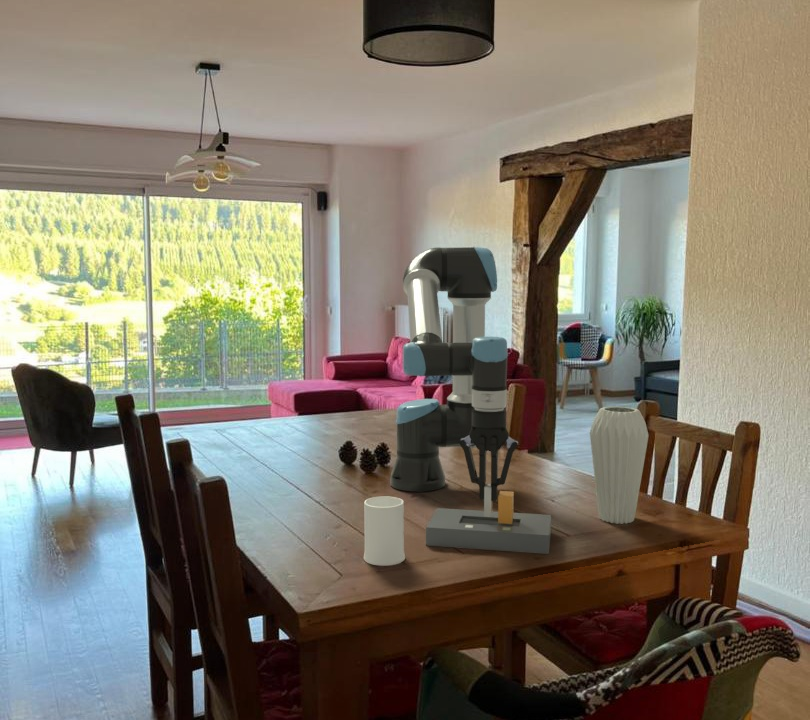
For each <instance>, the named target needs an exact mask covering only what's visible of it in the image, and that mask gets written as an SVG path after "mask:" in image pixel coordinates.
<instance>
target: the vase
mask: <svg viewBox="0 0 810 720" xmlns="http://www.w3.org/2000/svg"><path fill="white" fill-rule="evenodd" d="M649 437H650V436H649V432H648V427H647V424H646V421H645V418H644V416H643V415H642V413H641V411H640V409H637V408H636V407H631V406H630V407H629V406H628V407H627V406H614V405H613V406H603V407H601V408H599V409H598V412H597V413H596V414H595V416H594V418H593V420H592V424H591V429H590V431H589V438H590V447H591V457H592V465H593V467H592V468H593V474H594V475H593V476H594V484H595V493H596V503H597V511H598V518H599V519H600V520H601V521H603V522H605V523H610V524H616V525H617V524H620V525H621V524H622V525H623V524H626V525H628V523H629V524H630V523H632V522H634V521H635V517H636V511H637V507H638V502H639V501H638V500H639V496H640V495H639V494H640V488H641V483H642V476H643V471H644V465H645V460H646V453H647V447H648V441H649Z"/></svg>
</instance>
